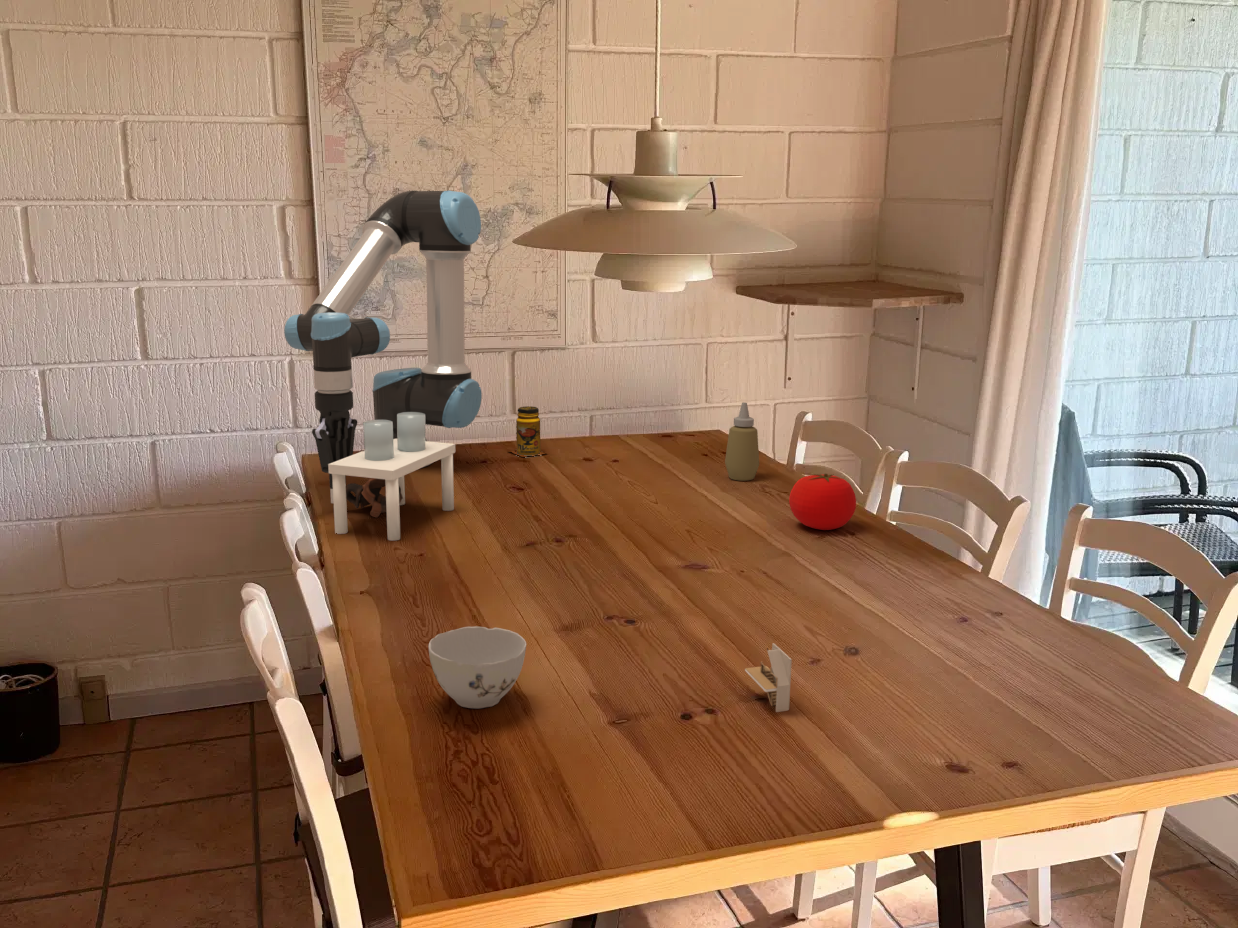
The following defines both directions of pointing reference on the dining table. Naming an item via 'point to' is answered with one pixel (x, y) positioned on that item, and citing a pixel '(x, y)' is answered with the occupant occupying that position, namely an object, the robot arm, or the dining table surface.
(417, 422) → the grey domed cylinder
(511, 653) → the teacup
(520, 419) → the condiment
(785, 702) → the architectural model
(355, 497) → the pottery mug
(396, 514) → the side counter
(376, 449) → the tumbler
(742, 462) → the squeeze bottle
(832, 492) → the tomato
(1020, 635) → the dining table surface
